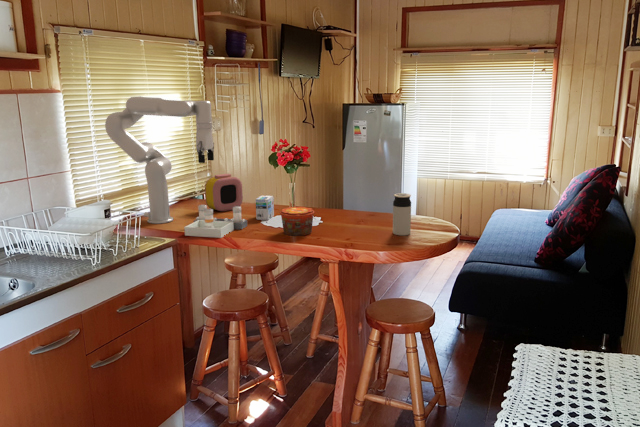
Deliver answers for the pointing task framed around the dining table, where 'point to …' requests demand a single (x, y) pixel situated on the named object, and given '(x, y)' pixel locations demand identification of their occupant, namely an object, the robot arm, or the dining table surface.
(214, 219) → the fuse block
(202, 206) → the left fuse
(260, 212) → the light bulb box
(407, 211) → the travel mug
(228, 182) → the alarm clock
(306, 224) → the food container
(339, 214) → the dining table surface
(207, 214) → the marked fuse
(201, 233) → the tray
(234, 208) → the right fuse
